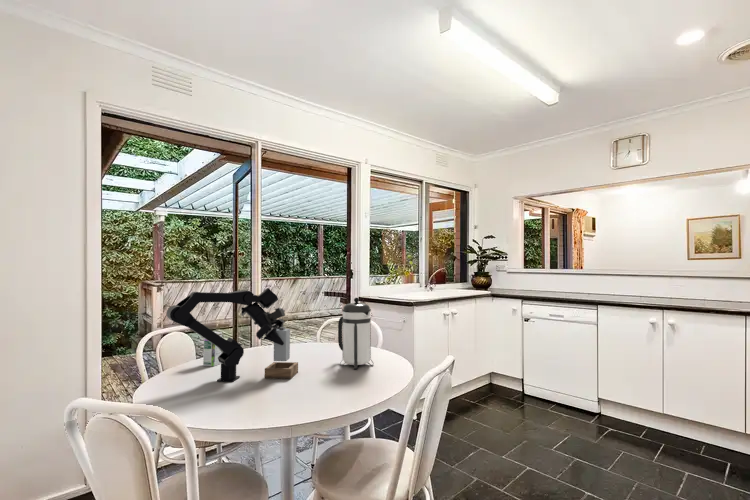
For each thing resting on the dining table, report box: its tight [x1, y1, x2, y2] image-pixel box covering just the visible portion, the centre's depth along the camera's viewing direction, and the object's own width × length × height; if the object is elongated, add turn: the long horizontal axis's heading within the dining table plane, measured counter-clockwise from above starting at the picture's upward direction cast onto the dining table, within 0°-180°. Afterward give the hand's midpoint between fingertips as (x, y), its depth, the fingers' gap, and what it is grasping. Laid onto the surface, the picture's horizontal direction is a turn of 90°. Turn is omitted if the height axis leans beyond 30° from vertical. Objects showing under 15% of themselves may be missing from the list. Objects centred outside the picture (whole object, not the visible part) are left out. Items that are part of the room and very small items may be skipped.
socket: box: [264, 361, 299, 380], centre depth 156 cm, size 10×10×4 cm
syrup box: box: [202, 331, 223, 367], centre depth 174 cm, size 6×6×14 cm
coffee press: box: [337, 297, 375, 371], centre depth 172 cm, size 17×16×30 cm
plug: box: [273, 326, 291, 362], centre depth 156 cm, size 5×5×13 cm
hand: (285, 343), depth 156 cm, fingers closed on plug, 5 cm apart
